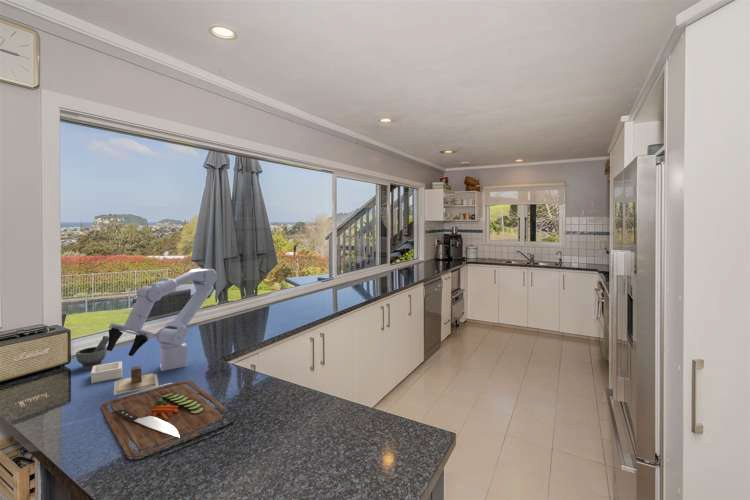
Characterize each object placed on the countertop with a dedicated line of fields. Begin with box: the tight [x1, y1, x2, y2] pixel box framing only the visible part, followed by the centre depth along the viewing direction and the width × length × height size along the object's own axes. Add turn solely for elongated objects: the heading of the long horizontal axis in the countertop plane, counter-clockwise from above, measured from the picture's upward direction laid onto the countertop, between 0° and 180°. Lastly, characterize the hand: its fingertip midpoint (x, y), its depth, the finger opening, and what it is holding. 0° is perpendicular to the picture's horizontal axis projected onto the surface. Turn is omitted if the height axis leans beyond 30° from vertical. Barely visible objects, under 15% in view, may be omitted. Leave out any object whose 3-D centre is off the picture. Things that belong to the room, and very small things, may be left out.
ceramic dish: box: [90, 360, 123, 384], centre depth 134 cm, size 9×9×4 cm
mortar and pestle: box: [75, 335, 109, 371], centre depth 145 cm, size 11×9×12 cm
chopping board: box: [100, 380, 228, 458], centre depth 108 cm, size 45×27×3 cm, turn 46°
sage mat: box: [113, 373, 160, 396], centre depth 128 cm, size 13×13×1 cm
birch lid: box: [117, 365, 155, 393], centre depth 128 cm, size 11×11×6 cm
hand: (119, 353), depth 127 cm, fingers open, 7 cm apart
